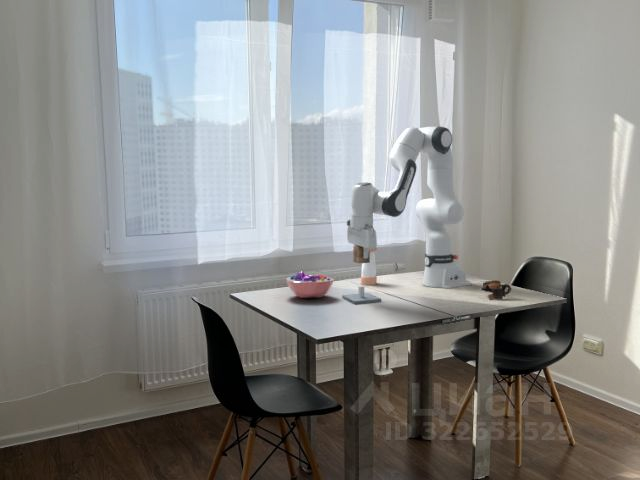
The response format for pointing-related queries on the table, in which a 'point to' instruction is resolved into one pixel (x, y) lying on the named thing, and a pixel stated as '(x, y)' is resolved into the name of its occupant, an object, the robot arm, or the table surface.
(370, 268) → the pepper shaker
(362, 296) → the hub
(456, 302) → the table surface
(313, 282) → the cell model
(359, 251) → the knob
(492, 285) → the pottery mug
